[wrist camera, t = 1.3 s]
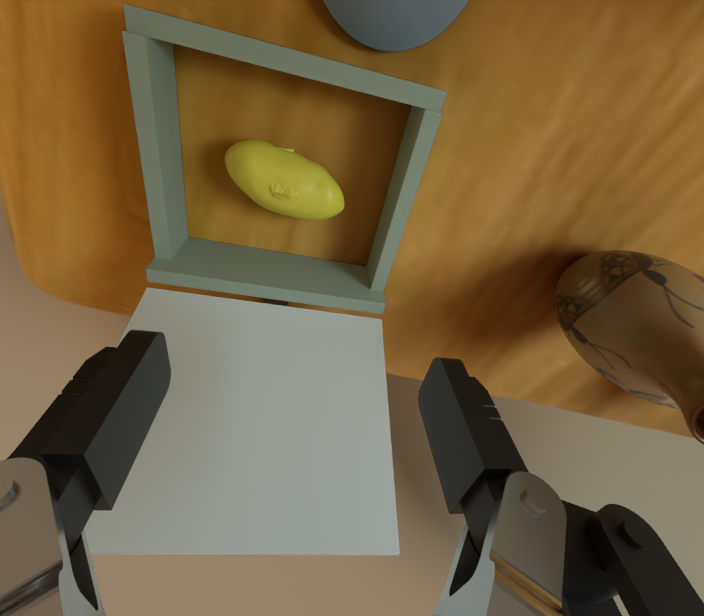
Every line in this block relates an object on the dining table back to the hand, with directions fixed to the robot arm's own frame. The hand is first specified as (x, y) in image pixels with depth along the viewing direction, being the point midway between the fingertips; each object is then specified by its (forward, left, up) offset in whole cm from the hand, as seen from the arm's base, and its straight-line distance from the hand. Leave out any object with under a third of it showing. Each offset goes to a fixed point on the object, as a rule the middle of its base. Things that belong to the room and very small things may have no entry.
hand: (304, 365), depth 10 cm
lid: (+9, -2, -5) cm, 10 cm away
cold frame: (0, -2, -17) cm, 17 cm away
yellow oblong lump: (0, -2, -17) cm, 17 cm away
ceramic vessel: (+3, +25, -17) cm, 31 cm away
